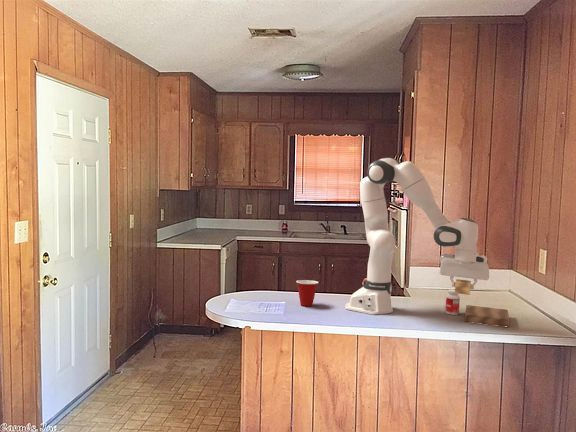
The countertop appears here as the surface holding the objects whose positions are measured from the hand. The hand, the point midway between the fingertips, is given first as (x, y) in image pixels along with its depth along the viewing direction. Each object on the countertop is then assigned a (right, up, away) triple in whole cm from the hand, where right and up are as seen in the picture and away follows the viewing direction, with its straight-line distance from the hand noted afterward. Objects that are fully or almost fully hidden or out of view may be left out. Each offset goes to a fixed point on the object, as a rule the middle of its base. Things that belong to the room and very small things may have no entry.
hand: (462, 287), depth 211 cm
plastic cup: (-67, -13, +26) cm, 73 cm away
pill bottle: (+2, -15, +19) cm, 24 cm away
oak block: (0, -2, 0) cm, 2 cm away
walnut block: (+14, -17, +10) cm, 24 cm away
